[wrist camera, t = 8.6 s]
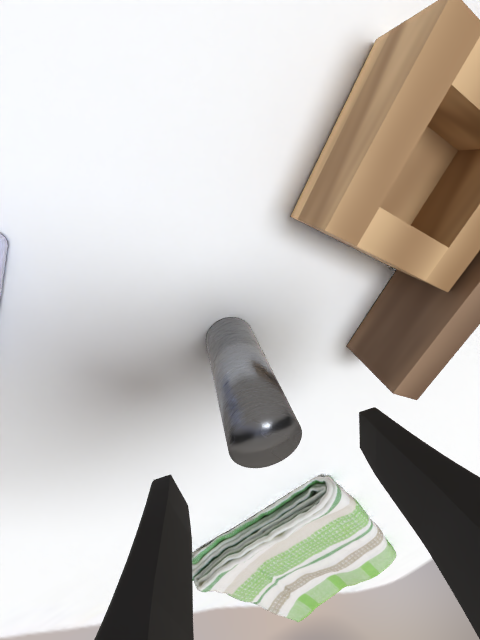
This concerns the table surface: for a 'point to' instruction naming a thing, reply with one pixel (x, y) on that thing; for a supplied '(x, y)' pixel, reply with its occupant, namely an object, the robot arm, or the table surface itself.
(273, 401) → the dowel
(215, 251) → the table surface
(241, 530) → the dish towel
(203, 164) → the table surface
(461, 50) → the block
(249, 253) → the table surface
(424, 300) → the wooden plank
